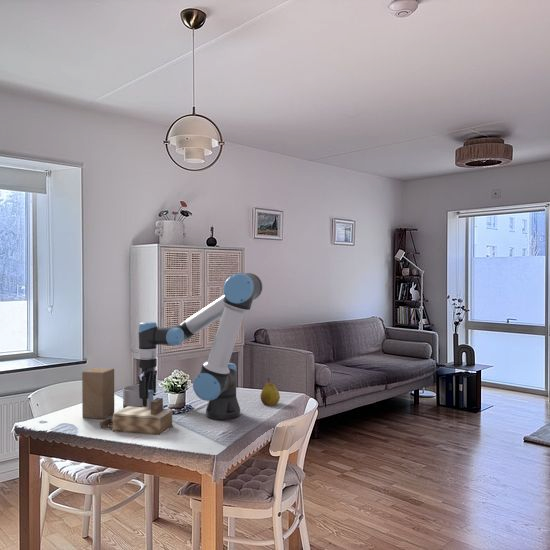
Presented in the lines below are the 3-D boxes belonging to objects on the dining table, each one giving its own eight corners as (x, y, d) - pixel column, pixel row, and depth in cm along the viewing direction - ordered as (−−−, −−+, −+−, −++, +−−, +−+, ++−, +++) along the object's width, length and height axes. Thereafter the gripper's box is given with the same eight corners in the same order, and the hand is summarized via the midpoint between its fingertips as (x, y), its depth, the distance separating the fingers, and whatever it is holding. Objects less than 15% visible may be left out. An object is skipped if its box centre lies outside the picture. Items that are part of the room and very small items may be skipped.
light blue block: (155, 417, 226) (155, 389, 226) (151, 419, 223) (151, 391, 223) (144, 416, 227) (144, 389, 227) (140, 418, 224) (140, 390, 224)
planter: (141, 415, 229) (141, 392, 229) (117, 413, 233) (117, 389, 233) (157, 408, 241) (157, 385, 241) (134, 405, 245) (134, 383, 245)
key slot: (125, 424, 216) (125, 418, 216) (116, 429, 209) (116, 423, 209) (109, 423, 218) (109, 417, 218) (100, 428, 211) (100, 422, 211)
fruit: (276, 407, 242) (276, 381, 242) (258, 405, 245) (258, 380, 245) (282, 403, 250) (282, 378, 250) (264, 401, 253) (264, 376, 253)
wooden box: (172, 426, 214) (172, 411, 214) (159, 435, 202) (159, 419, 202) (128, 422, 219) (127, 408, 218) (112, 431, 207) (112, 416, 207)
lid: (172, 411, 213) (171, 397, 213) (159, 418, 203) (159, 404, 202) (127, 408, 218) (127, 394, 218) (113, 415, 207) (113, 401, 207)
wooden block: (103, 419, 224) (102, 372, 223) (82, 417, 226) (81, 371, 225) (114, 412, 233) (114, 368, 233) (94, 411, 235) (94, 367, 235)
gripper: (148, 354, 234) (148, 406, 234) (130, 360, 218) (130, 417, 218) (164, 355, 232) (164, 407, 232) (146, 361, 216) (147, 418, 216)
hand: (147, 412), depth 225 cm, fingers closed on light blue block, 3 cm apart
